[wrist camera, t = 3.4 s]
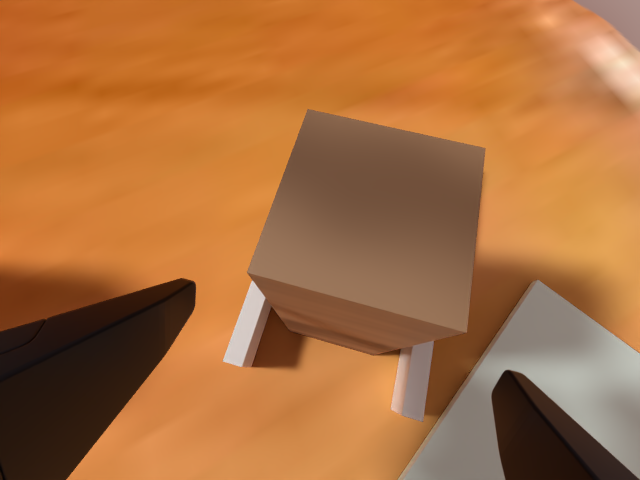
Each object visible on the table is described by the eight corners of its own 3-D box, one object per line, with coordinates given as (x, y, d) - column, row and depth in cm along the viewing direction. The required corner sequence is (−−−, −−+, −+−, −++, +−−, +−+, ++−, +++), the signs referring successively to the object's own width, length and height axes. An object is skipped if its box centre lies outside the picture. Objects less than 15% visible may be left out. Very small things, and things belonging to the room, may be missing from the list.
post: (373, 355, 19) (466, 332, 7) (290, 331, 19) (246, 272, 7) (389, 274, 20) (485, 148, 9) (313, 254, 21) (307, 109, 9)
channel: (408, 414, 17) (423, 421, 15) (234, 362, 18) (222, 361, 16) (445, 172, 23) (460, 150, 21) (311, 141, 24) (311, 117, 22)
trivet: (676, 766, 13) (691, 784, 12) (396, 481, 16) (398, 485, 16) (773, 459, 17) (789, 462, 16) (531, 281, 20) (537, 279, 20)
